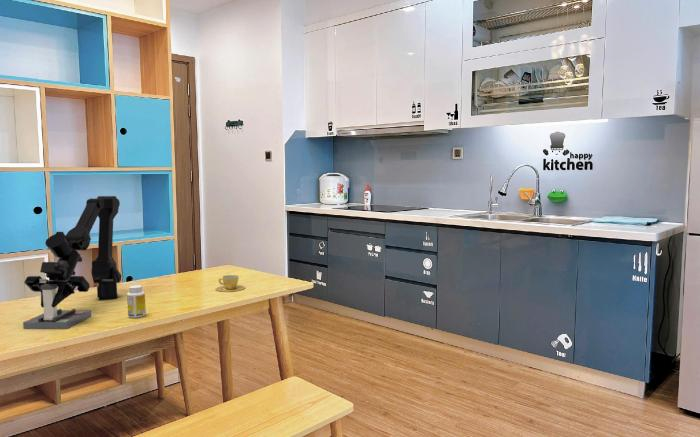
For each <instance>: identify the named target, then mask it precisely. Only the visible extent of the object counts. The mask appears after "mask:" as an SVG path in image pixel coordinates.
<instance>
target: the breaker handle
mask: <svg viewBox="0 0 700 437" xmlns="http://www.w3.org/2000/svg"><path fill="white" fill-rule="evenodd" d="M40 288H41V290H42V291H43V306H44V307H43V313H44V320H53V318H55V317H57V316H58V315H57V310H58V305H56V306H55V307H52V306H51V305H52V302H53V300H54V297H55V295H56V293H57V291H56V289H58V287H57V284H45V285H42V286H40Z"/></svg>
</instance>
